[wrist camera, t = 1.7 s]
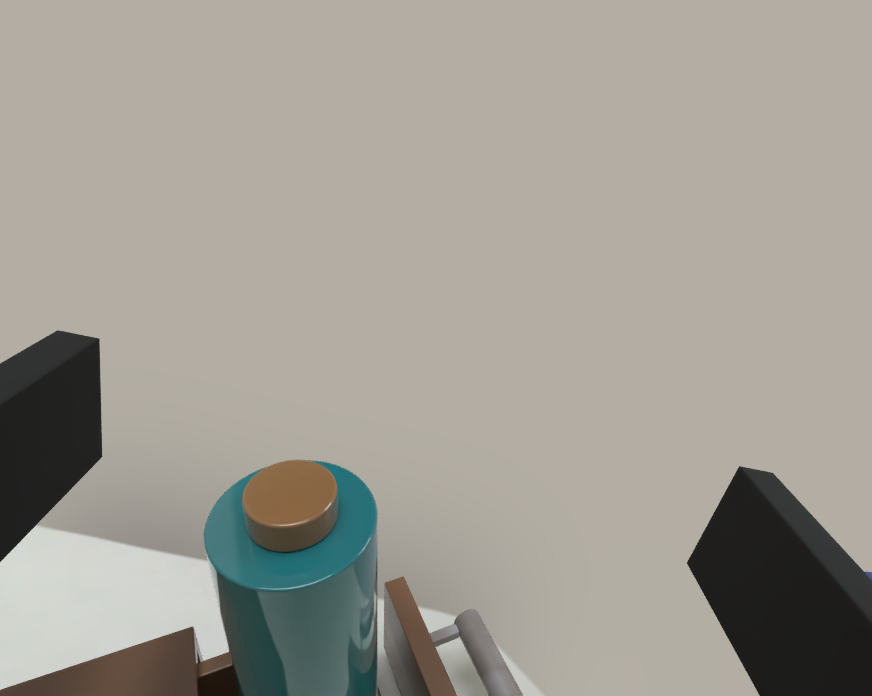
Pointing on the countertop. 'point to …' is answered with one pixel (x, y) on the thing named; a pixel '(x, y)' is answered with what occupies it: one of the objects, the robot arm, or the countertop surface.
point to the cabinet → (127, 672)
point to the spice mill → (297, 580)
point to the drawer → (405, 653)
